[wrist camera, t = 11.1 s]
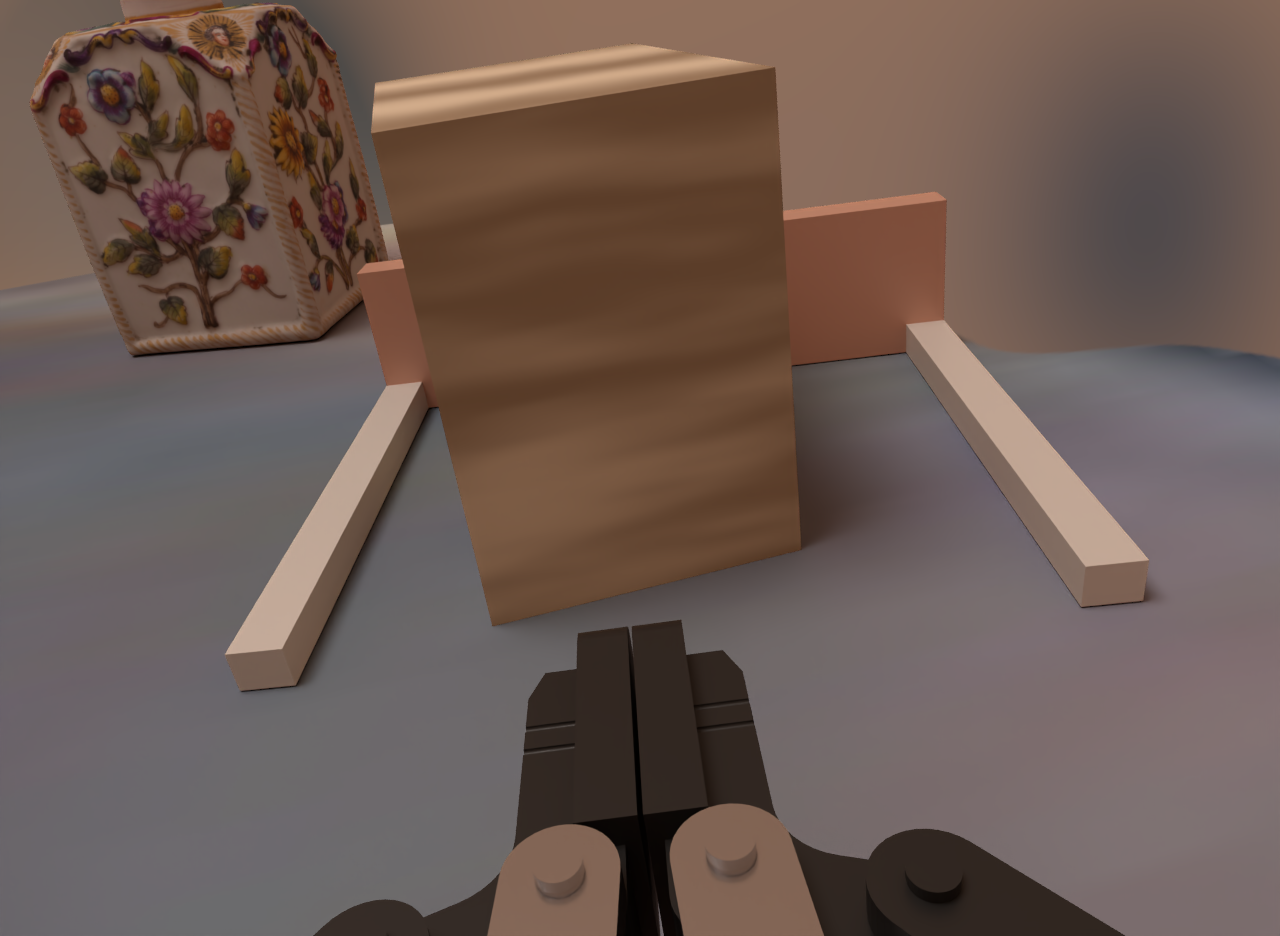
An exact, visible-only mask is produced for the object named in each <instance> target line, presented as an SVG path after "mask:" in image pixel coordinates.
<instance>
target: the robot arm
mask: <svg viewBox="0 0 1280 936" xmlns="http://www.w3.org/2000/svg"><path fill="white" fill-rule="evenodd" d="M632 640H633V651H632V645H631V639H630V633H629V629H628V627H622V628H614V629H607V630H599V631H592V632H584V633H578V639H577V669H574V670H567V671H559V672H551V673H545V675H544V676H543V678H542V679H541V681H540V682H539V684H538V685H537V687H536V689H535V690H534V692H533V693H532V695H531V696H530V698H529V700H528V710H527V721H526V732H525V742H524V755H523V763H522V774H521V784H520V795H519V806H518V816H517V827H516V837H515V843H514V848H513V851H512V852H511V853H510V854H509V856H508V857H507V858H506V860H505V862H504V864H503V866H502V868H501V872H500V873H499V874H498V875H497V876H496V878H495V879H494V880H493V881H492V882H491V883H489V884H488V885H487V886H486V887H485V888H483V889H482V890H481V891H479V892H478V893H476V894H475V895H473V896H471V897H470V898H468V899H466V900H463V901H461V902H459V903H457V904H455V905H452V906H450V907H448V908H445V909H443V910H440V911H438V912H436V913H433V914H431V915H428V916H426V917H424V918H423V917H422V915H421V914H420V913H419V912H418V911H417V910H416V909H415V908H413V907H412V906H410V905H408V904H406V903H404V902H400V901H396V900H375V901H370V902H366V903H362V904H360V905H357V906H354V907H352V908H350V909H348V910H346V911H344V912H342V913H341V914H339V915H338V916H336V917H335V918H333V919H332V920H330V921H329V922H328V923H327V924H326V925H325V926H323V927H322V928H321V929H320V930H319V931H318V932H317V933H316V934H315V935H314V936H660V923H659V909H660V915H661V921H662V927H663V933H664V936H1125V935H1123V934H1121V933H1120V932H1118V931H1117V930H1115V929H1113V928H1112V927H1110V926H1108V925H1107V924H1105V923H1103V922H1102V921H1100V920H1098V919H1097V918H1095V917H1093V916H1092V915H1090V914H1088V913H1087V912H1085V911H1084V910H1082V909H1080V908H1079V907H1077V906H1075V905H1074V904H1072V903H1070V902H1069V901H1067V900H1065V899H1064V898H1062V897H1060V896H1059V895H1057V894H1055V893H1054V892H1052V891H1051V890H1049V889H1047V888H1046V887H1044V886H1042V885H1041V884H1039V883H1037V882H1036V881H1034V880H1032V879H1031V878H1029V877H1027V876H1026V875H1024V874H1023V873H1021V872H1019V871H1018V870H1016V869H1014V868H1013V867H1011V866H1009V865H1008V864H1006V863H1004V862H1003V861H1001V860H999V859H998V858H996V857H994V856H993V855H991V854H990V853H988V852H986V851H985V850H983V849H981V848H980V847H978V846H976V845H975V844H973V843H971V842H970V841H968V840H966V839H964V838H962V837H960V836H957V835H954V834H952V833H949V832H944V831H940V830H933V829H914V830H908V831H903V832H900V833H897V834H895V835H893V836H891V837H889V838H887V839H886V840H884V841H883V842H882V843H880V844H879V845H878V846H877V847H876V849H875V850H874V851H873V852H872V854H871V856H870V858H869V860H867V859H860V858H854V857H847V856H840V855H835V854H830V853H825V852H822V851H819V850H817V849H814V848H812V847H810V846H808V845H806V844H804V843H802V842H801V841H799V840H798V839H796V838H795V837H793V836H792V835H791V834H790V833H789V832H788V831H787V829H786V828H785V827H784V825H783V824H782V823H781V822H780V821H779V820H778V818H777V816H776V814H775V811H774V808H773V805H772V800H771V796H770V791H769V787H768V783H767V778H766V774H765V769H764V765H763V760H762V756H761V751H760V747H759V742H758V738H757V734H756V729H755V726H754V721H753V716H752V711H751V707H750V703H749V698H748V694H747V689H746V685H745V680H744V676H743V671H742V670H741V669H740V668H739V667H738V666H737V665H736V664H735V663H734V662H733V661H732V660H731V659H730V658H729V657H728V655H727V654H726V653H725V652H724V651H723V650H721V651H713V652H706V653H698V654H690V655H686V650H685V643H684V636H683V629H682V622H681V620H677V621H669V622H661V623H654V624H646V625H639V626H632ZM633 656H634V657H633ZM658 904H659V909H658Z"/></svg>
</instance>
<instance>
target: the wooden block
mask: <svg viewBox="0 0 1280 936" xmlns="http://www.w3.org/2000/svg"><path fill="white" fill-rule="evenodd" d="M778 129H779V128H778V110H777V92H776V73H775V67H770V66H764V65H758V64H753V63H747V62H740V61H735V60H729V59H722V58H716V57H711V56H705V55H698V54H693V53H687V52H681V51H675V50H669V49H663V48H657V47H650V46H645V45H639V44H633V43H631V44H625V45H618V46H612V47H605V48H599V49H593V50H586V51H579V52H573V53H567V54H560V55H554V56H547V57H541V58H535V59H528V60H521V61H515V62H508V63H502V64H496V65H489V66H483V67H476V68H470V69H463V70H457V71H451V72H444V73H437V74H431V75H425V76H419V77H412V78H405V79H399V80H392V81H386V82H379V83H375V95H374V105H373V118H372V130H371V134H372V138H373V142H374V146H375V151H376V155H377V159H378V163H379V167H380V171H381V175H382V179H383V183H384V187H385V191H386V195H387V199H388V203H389V207H390V211H391V215H392V220H393V224H394V228H395V232H396V236H397V240H398V244H399V248H400V252H401V256H402V260H403V264H404V269H405V273H406V277H407V281H408V285H409V289H410V293H411V297H412V301H413V305H414V309H415V313H416V317H417V321H418V325H419V329H420V334H421V338H422V342H423V346H424V350H425V354H426V358H427V362H428V366H429V370H430V374H431V378H432V382H433V386H434V390H435V395H436V399H437V403H438V407H439V411H440V415H441V419H442V423H443V427H444V431H445V435H446V439H447V443H448V447H449V451H450V456H451V460H452V464H453V468H454V472H455V476H456V480H457V484H458V488H459V492H460V496H461V500H462V504H463V508H464V512H465V517H466V521H467V525H468V529H469V533H470V537H471V541H472V545H473V549H474V553H475V557H476V561H477V565H478V569H479V573H480V578H481V582H482V586H483V590H484V594H485V598H486V602H487V606H488V610H489V614H490V618H491V622H492V626H496V625H500V624H504V623H508V622H512V621H516V620H520V619H524V618H528V617H532V616H536V615H540V614H544V613H548V612H552V611H556V610H561V609H565V608H569V607H573V606H577V605H581V604H585V603H589V602H593V601H597V600H601V599H605V598H609V597H613V596H617V595H621V594H625V593H629V592H633V591H637V590H641V589H645V588H649V587H653V586H657V585H661V584H665V583H669V582H673V581H678V580H682V579H686V578H690V577H694V576H698V575H702V574H706V573H710V572H714V571H718V570H722V569H726V568H730V567H734V566H738V565H742V564H746V563H750V562H754V561H758V560H762V559H766V558H770V557H774V556H778V555H782V554H786V553H790V552H795V551H799V550H801V533H800V514H799V496H798V477H797V459H796V441H795V422H794V404H793V385H792V367H791V349H790V330H789V312H788V293H787V275H786V257H785V238H784V220H783V202H782V184H781V165H780V146H779V130H778Z"/></svg>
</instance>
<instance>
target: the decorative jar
mask: <svg viewBox="0 0 1280 936" xmlns="http://www.w3.org/2000/svg"><path fill="white" fill-rule="evenodd" d="M120 3H121V6H122V10H123V14H124V17H125V20H126V22H115V23H111V24H107V25H104V26H99V27H92V28H86V29H81V30H77V31H74V32H69V33H66V34H65V35H64V36H62V37H61V38H59V39H57V40H56V41H55V43H54V44H53V47H52V49H51V51H50V52H49V54H48V56H47V57H46V59H45V62H44V66H43V69H42V72H41V74H40V76H39V77H38V79H37V81H36V83H35V89H34V92H33V95H32V97H31V100H30V102H29V103H30V107H31V111H32V114H33V117H34V120H35V122H36V124H37V127H38V129H39V132H40V135H41V137H42V140H43V142H44V145H45V147H46V149H47V153H48V155H49V157H50V160H51V162H52V165H53V168H54V170H55V173H56V176H57V178H58V180H59V183H60V186H61V189H62V191H63V194H64V197H65V199H66V201H67V204H68V207H69V209H70V211H71V214H72V217H73V220H74V222H75V224H76V227H77V230H78V232H79V234H80V237H81V239H82V241H83V244H84V247H85V250H86V252H87V255H88V257H89V259H90V263H91V265H92V267H93V269H94V272H95V274H96V277H97V279H98V281H99V283H100V286H101V288H102V291H103V293H104V296H105V298H106V300H107V303H108V306H109V308H110V310H111V312H112V314H113V317H114V319H115V322H116V324H117V327H118V329H119V332H120V334H121V336H122V337H123V340H124V342H125V345H126V348H127V350H128V351H129V353H130V354H131V355H142V354H151V353H162V352H177V351H187V350H199V349H211V348H224V347H238V346H249V345H262V344H273V343H283V342H294V341H306V340H313V339H317V338H319V337H320V336H322V335H323V334H324V333H325V332H327V331H328V329H329V328H330V327H332V326H333V325H334V324H335V323H336V322H338V321H339V320H340V319H341V318H342V317H343V316H344V315H346V314H347V313H348V312H349V311H350V310H351V309H352V308H354V307H355V306H356V305H357V304H358V303H360V302H361V301H362V300H363V296H362V292H361V289H360V285H359V281H358V277H357V273H358V272H359V271H360V270H361V269H362V268H363V267H364V266H365V264H367V263H375V262H383V261H389V260H388V255H387V251H386V247H385V242H384V239H383V235H382V230H381V227H380V223H379V218H378V215H377V210H376V206H375V203H374V198H373V195H372V191H371V187H370V183H369V179H368V175H367V170H366V168H365V163H364V160H363V155H362V152H361V148H360V145H359V141H358V137H357V133H356V130H355V126H354V122H353V119H352V116H351V112H350V109H349V105H348V102H347V98H346V94H345V89H344V87H343V82H342V78H341V75H340V70H339V65H338V63H337V60H336V52H335V51H334V50H333V49H331V48H330V47H329V46H328V45H327V44H326V42H325V41H324V40H323V39H322V37H321V35H320V34H319V33H318V32H317V31H316V30H315V28H313V27H311V26H310V25H309V23H308V22H307V21H306V19H305V18H304V17H303V16H302V15H301V14H300V13H299V12H298V10H297V9H296V8H295V7H293V6H288V5H279V4H277V3H254V4H244V5H237V6H233V7H228V8H224V6H223V4H222V1H221V0H120Z"/></svg>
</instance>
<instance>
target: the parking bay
mask: <svg viewBox="0 0 1280 936" xmlns="http://www.w3.org/2000/svg"><path fill="white" fill-rule="evenodd" d="M946 203H947V200H946V199H945V198H943V197H942V196H941V195H940V194H938V193H937V192H929V193H921V194H913V195H906V196H898V197H890V198H882V199H874V200H866V201H859V202H850V203H842V204H834V205H826V206H818V207H810V208H803V209H796V210H787V211H783V220H784V238H785V257H786V275H787V293H788V312H789V330H790V349H791V365H800V364H808V363H817V362H825V361H834V360H843V359H851V358H860V357H868V356H877V355H885V354H894V353H903V352H906V353H907V354H908V356H909V357H910V359H911V360H912V361H913V363H914V364H915V366H916V367H917V369H918V370H919V372H920V373H921V375H922V376H923V377H924V379H925V380H926V382H927V383H928V385H929V386H930V388H931V389H932V391H933V392H934V393H935V395H936V396H937V398H938V399H939V401H940V402H941V404H942V405H943V407H944V408H945V410H946V411H947V412H948V414H949V415H950V417H951V418H952V420H953V421H954V423H955V424H956V426H957V427H958V428H959V430H960V431H961V433H962V434H963V436H964V437H965V439H966V440H967V442H968V443H969V444H970V446H971V447H972V449H973V450H974V452H975V453H976V455H977V456H978V458H979V459H980V460H981V462H982V463H983V465H984V466H985V468H986V469H987V471H988V472H989V474H990V475H991V477H992V478H993V479H994V481H995V482H996V484H997V485H998V487H999V488H1000V490H1001V491H1002V493H1003V494H1004V495H1005V497H1006V498H1007V500H1008V501H1009V503H1010V504H1011V506H1012V507H1013V509H1014V510H1015V511H1016V513H1017V514H1018V516H1019V517H1020V519H1021V520H1022V522H1023V523H1024V525H1025V526H1026V527H1027V529H1028V530H1029V532H1030V533H1031V535H1032V536H1033V538H1034V539H1035V541H1036V542H1037V543H1038V545H1039V546H1040V548H1041V549H1042V551H1043V552H1044V554H1045V555H1046V557H1047V558H1048V560H1049V561H1050V562H1051V564H1052V565H1053V567H1054V568H1055V570H1056V571H1057V573H1058V574H1059V576H1060V577H1061V578H1062V580H1063V581H1064V583H1065V584H1066V586H1067V587H1068V589H1069V590H1070V592H1071V593H1072V594H1073V596H1074V597H1075V599H1076V600H1077V602H1078V603H1079V605H1080V606H1081V607H1085V606H1095V605H1105V604H1115V603H1125V602H1135V601H1143V598H1144V592H1145V585H1146V578H1147V571H1148V565H1149V559H1148V558H1147V557H1146V556H1145V555H1144V554H1143V552H1142V551H1141V550H1140V549H1139V548H1138V547H1137V545H1136V544H1135V543H1134V542H1133V541H1132V540H1131V538H1130V537H1129V536H1128V535H1127V534H1126V533H1125V531H1124V530H1123V529H1122V528H1121V527H1120V525H1119V524H1118V523H1117V522H1116V521H1115V520H1114V518H1113V517H1112V516H1111V515H1110V514H1109V513H1108V511H1107V510H1106V509H1105V508H1104V507H1103V506H1102V504H1101V503H1100V502H1099V501H1098V500H1097V499H1096V497H1095V496H1094V495H1093V494H1092V493H1091V492H1090V490H1089V489H1088V488H1087V487H1086V486H1085V485H1084V483H1083V482H1082V481H1081V480H1080V479H1079V478H1078V476H1077V475H1076V474H1075V473H1074V472H1073V471H1072V469H1071V468H1070V467H1069V466H1068V465H1067V464H1066V462H1065V461H1064V460H1063V459H1062V458H1061V457H1060V455H1059V454H1058V453H1057V452H1056V451H1055V449H1054V448H1053V447H1052V446H1051V445H1050V444H1049V442H1048V441H1047V440H1046V439H1045V438H1044V437H1043V435H1042V434H1041V433H1040V432H1039V431H1038V430H1037V428H1036V427H1035V426H1034V425H1033V424H1032V423H1031V421H1030V420H1029V419H1028V418H1027V417H1026V416H1025V414H1024V413H1023V412H1022V411H1021V410H1020V409H1019V407H1018V406H1017V405H1016V404H1015V403H1014V402H1013V400H1012V399H1011V398H1010V397H1009V396H1008V395H1007V393H1006V392H1005V391H1004V390H1003V389H1002V388H1001V386H1000V385H999V384H998V383H997V382H996V380H995V379H994V378H993V377H992V376H991V375H990V373H989V372H988V371H987V370H986V369H985V368H984V366H983V365H982V364H981V363H980V362H979V361H978V359H977V358H976V357H975V356H974V355H973V354H972V352H971V351H970V350H969V349H968V348H967V347H966V345H965V344H964V343H963V342H962V341H961V340H960V338H959V337H958V336H957V335H956V334H955V333H954V331H953V330H952V329H951V328H950V327H949V326H948V324H947V323H946V322H945V321H944V288H945V286H944V285H945V247H946V245H945V244H946V206H947V204H946ZM357 277H358V281H359V285H360V289H361V292H362V296H363V300H364V303H365V307H366V311H367V314H368V318H369V322H370V325H371V329H372V333H373V336H374V340H375V344H376V347H377V351H378V355H379V359H380V362H381V366H382V370H383V373H384V377H385V381H386V384H387V386H386V388H385V390H384V391H383V393H382V395H381V396H380V398H379V400H378V401H377V403H376V405H375V406H374V408H373V410H372V411H371V413H370V415H369V416H368V418H367V420H366V421H365V423H364V425H363V426H362V428H361V430H360V431H359V433H358V435H357V436H356V438H355V440H354V441H353V443H352V445H351V446H350V448H349V450H348V451H347V453H346V454H345V456H344V458H343V459H342V461H341V463H340V464H339V466H338V468H337V469H336V471H335V473H334V474H333V476H332V478H331V479H330V481H329V483H328V484H327V486H326V488H325V489H324V491H323V493H322V494H321V496H320V498H319V499H318V501H317V503H316V504H315V506H314V508H313V509H312V511H311V513H310V514H309V516H308V518H307V519H306V521H305V522H304V524H303V526H302V527H301V529H300V531H299V532H298V534H297V536H296V537H295V539H294V541H293V542H292V544H291V546H290V547H289V549H288V551H287V552H286V554H285V556H284V557H283V559H282V561H281V562H280V564H279V566H278V567H277V569H276V571H275V572H274V574H273V576H272V577H271V579H270V581H269V582H268V584H267V586H266V587H265V589H264V590H263V592H262V594H261V595H260V597H259V599H258V600H257V602H256V604H255V605H254V607H253V609H252V610H251V612H250V614H249V615H248V617H247V619H246V620H245V622H244V624H243V625H242V627H241V629H240V630H239V632H238V634H237V635H236V637H235V639H234V640H233V642H232V644H231V645H230V647H229V649H228V650H227V652H226V654H225V656H226V659H227V661H228V664H229V666H230V668H231V671H232V673H233V676H234V678H235V680H236V683H237V685H238V688H239V690H240V691H244V690H254V689H264V688H274V687H284V686H294V685H296V684H297V682H298V680H299V678H300V675H301V673H302V671H303V669H304V667H305V665H306V663H307V661H308V659H309V657H310V655H311V652H312V650H313V648H314V646H315V644H316V642H317V640H318V638H319V636H320V634H321V632H322V629H323V627H324V625H325V623H326V621H327V619H328V617H329V615H330V613H331V611H332V609H333V606H334V604H335V602H336V600H337V598H338V596H339V594H340V592H341V590H342V588H343V586H344V584H345V581H346V579H347V577H348V575H349V573H350V571H351V569H352V567H353V565H354V563H355V561H356V558H357V556H358V554H359V552H360V550H361V548H362V546H363V544H364V542H365V540H366V538H367V535H368V533H369V531H370V529H371V527H372V525H373V523H374V521H375V519H376V517H377V515H378V512H379V510H380V508H381V506H382V504H383V502H384V500H385V498H386V496H387V494H388V492H389V490H390V487H391V485H392V483H393V481H394V479H395V477H396V475H397V473H398V471H399V469H400V467H401V464H402V462H403V460H404V458H405V456H406V454H407V452H408V450H409V448H410V446H411V444H412V441H413V439H414V437H415V435H416V433H417V431H418V429H419V427H420V425H421V423H422V421H423V418H424V416H425V414H426V412H427V410H428V408H431V407H438V403H437V399H436V395H435V390H434V386H433V382H432V378H431V374H430V370H429V366H428V362H427V358H426V354H425V350H424V346H423V342H422V338H421V334H420V329H419V325H418V321H417V317H416V313H415V309H414V305H413V301H412V297H411V293H410V289H409V285H408V281H407V277H406V273H405V269H404V264H403V260H402V259H398V260H391V261H383V262H375V263H367V264H365V266H364V267H363V268H362V269H361V270H360V271H359V272H358V273H357Z"/></svg>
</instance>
